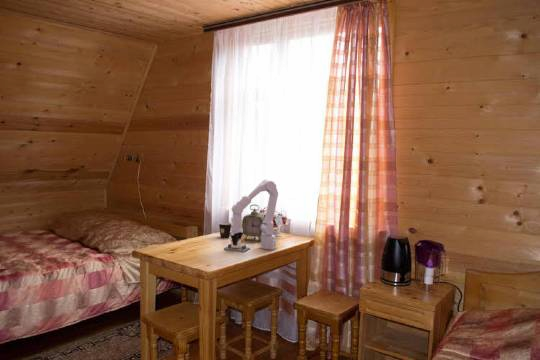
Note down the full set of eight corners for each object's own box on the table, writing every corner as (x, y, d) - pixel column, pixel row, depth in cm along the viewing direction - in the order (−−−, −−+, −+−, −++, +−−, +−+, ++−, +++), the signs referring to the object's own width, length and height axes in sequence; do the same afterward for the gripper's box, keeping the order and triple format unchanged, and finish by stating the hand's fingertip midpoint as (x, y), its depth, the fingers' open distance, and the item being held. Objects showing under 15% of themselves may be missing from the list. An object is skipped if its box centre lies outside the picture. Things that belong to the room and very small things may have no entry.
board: (250, 249, 288) (250, 244, 288) (244, 252, 279) (244, 247, 279) (230, 246, 293) (230, 242, 292) (223, 249, 284) (224, 245, 284)
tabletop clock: (241, 240, 312) (242, 204, 310) (246, 237, 321) (247, 202, 318) (261, 242, 308) (262, 206, 306) (265, 239, 317) (266, 204, 314)
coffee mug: (216, 236, 321) (216, 223, 320) (226, 235, 326) (227, 221, 325) (225, 240, 311) (225, 225, 310) (235, 238, 317) (236, 224, 316)
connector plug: (241, 246, 287) (241, 238, 287) (238, 248, 283) (238, 240, 283) (233, 245, 289) (234, 238, 288) (231, 247, 285) (231, 239, 285)
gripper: (236, 220, 293) (235, 241, 294) (226, 224, 279) (225, 246, 281) (246, 221, 290) (245, 242, 292) (236, 225, 277) (236, 247, 278)
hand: (236, 244), depth 286 cm, fingers closed on connector plug, 4 cm apart
